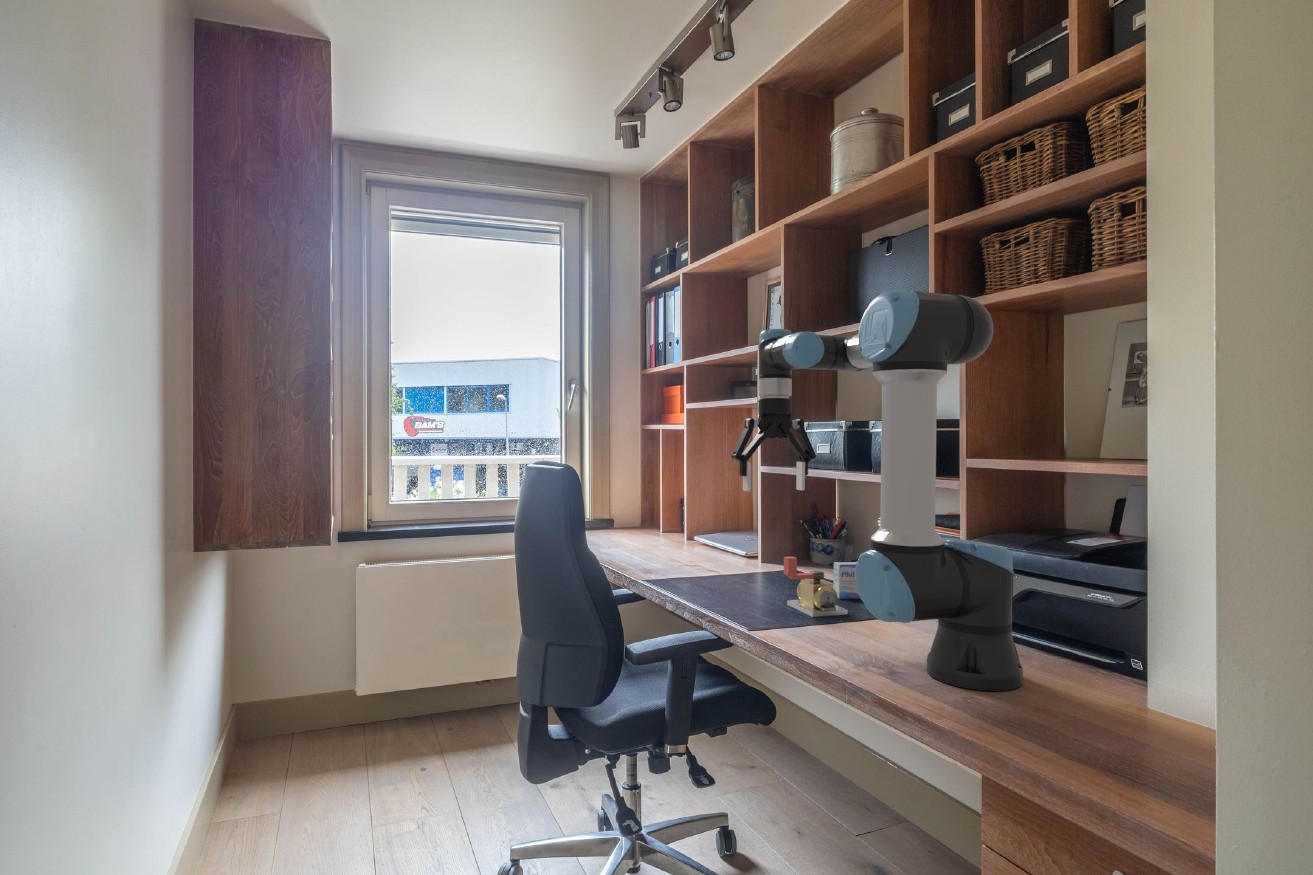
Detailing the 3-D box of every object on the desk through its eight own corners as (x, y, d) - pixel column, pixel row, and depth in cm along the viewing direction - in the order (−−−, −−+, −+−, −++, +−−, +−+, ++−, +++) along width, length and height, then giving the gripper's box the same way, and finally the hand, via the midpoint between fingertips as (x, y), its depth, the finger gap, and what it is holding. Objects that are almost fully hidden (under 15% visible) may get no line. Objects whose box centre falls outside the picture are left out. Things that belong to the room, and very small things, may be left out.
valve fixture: (847, 614, 167) (847, 583, 167) (812, 616, 164) (812, 585, 164) (820, 602, 178) (820, 573, 178) (787, 604, 176) (787, 575, 176)
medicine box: (838, 599, 182) (839, 564, 182) (832, 595, 186) (833, 561, 186) (869, 599, 183) (870, 564, 182) (862, 594, 187) (863, 561, 187)
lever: (826, 579, 170) (826, 557, 170) (789, 581, 167) (789, 558, 167) (819, 576, 173) (819, 554, 173) (782, 578, 170) (782, 556, 170)
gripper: (815, 399, 175) (814, 488, 175) (718, 397, 167) (717, 489, 168) (831, 398, 168) (830, 490, 168) (731, 395, 160) (730, 492, 160)
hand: (773, 490), depth 168 cm, fingers open, 13 cm apart
